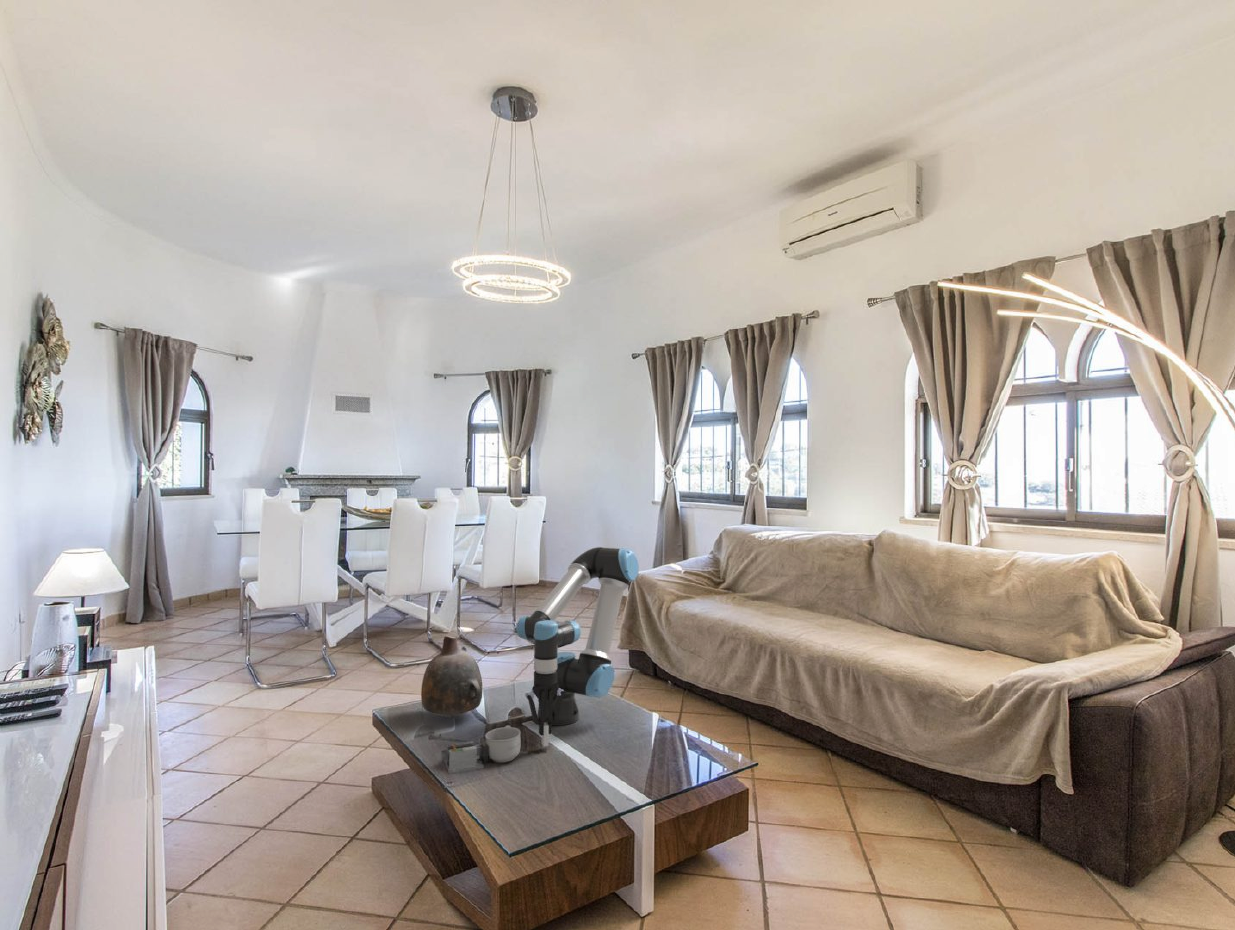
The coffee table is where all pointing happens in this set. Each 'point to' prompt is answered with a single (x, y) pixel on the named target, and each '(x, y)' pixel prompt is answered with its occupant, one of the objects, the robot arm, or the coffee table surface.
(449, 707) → the jug
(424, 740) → the coffee table surface
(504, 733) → the teacup
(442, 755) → the hammer
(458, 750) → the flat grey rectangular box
